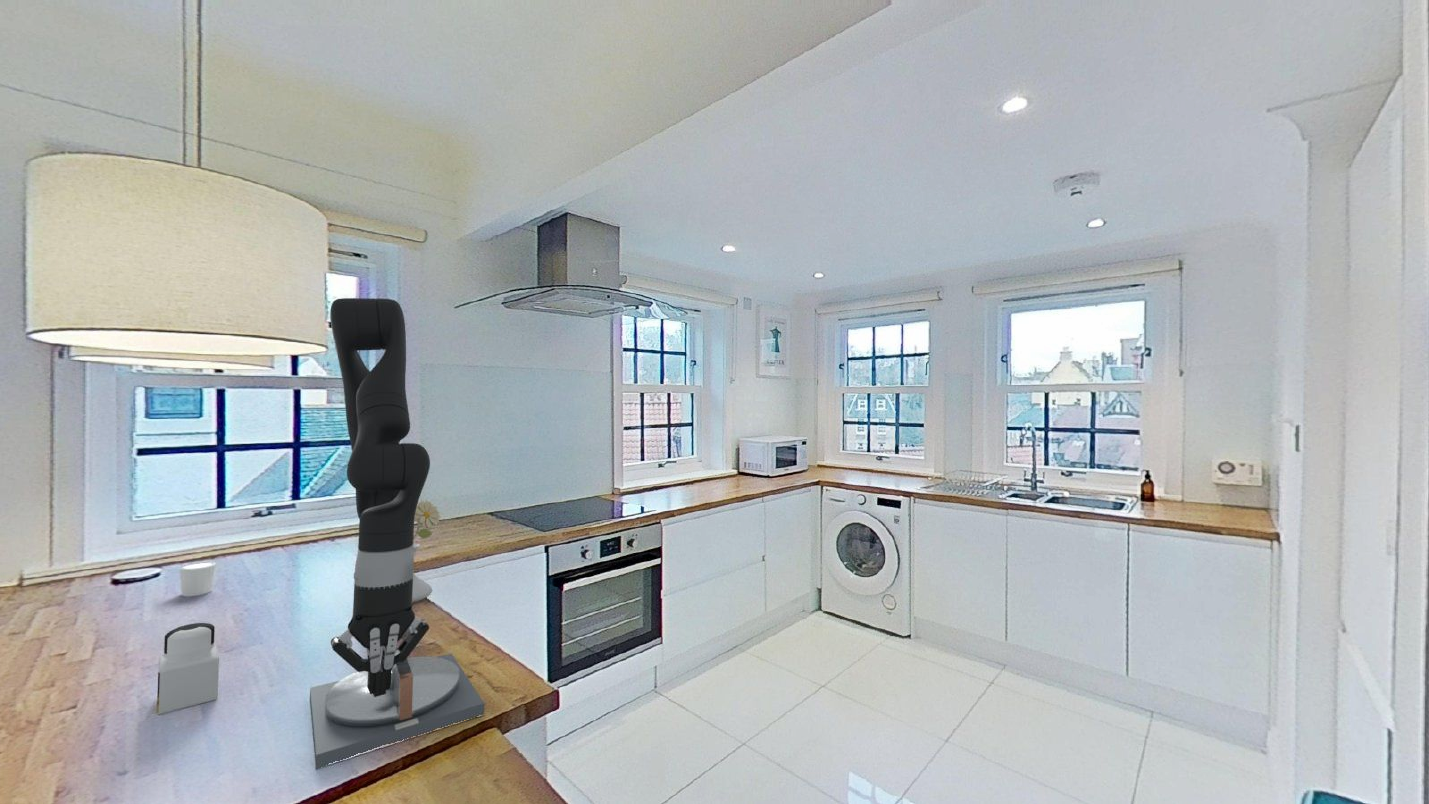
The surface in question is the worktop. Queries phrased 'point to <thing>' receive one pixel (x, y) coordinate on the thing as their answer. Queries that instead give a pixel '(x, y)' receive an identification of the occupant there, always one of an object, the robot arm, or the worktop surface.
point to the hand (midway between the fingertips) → (379, 693)
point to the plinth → (351, 740)
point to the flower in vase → (426, 519)
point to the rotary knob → (393, 693)
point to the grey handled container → (188, 668)
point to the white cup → (197, 578)
